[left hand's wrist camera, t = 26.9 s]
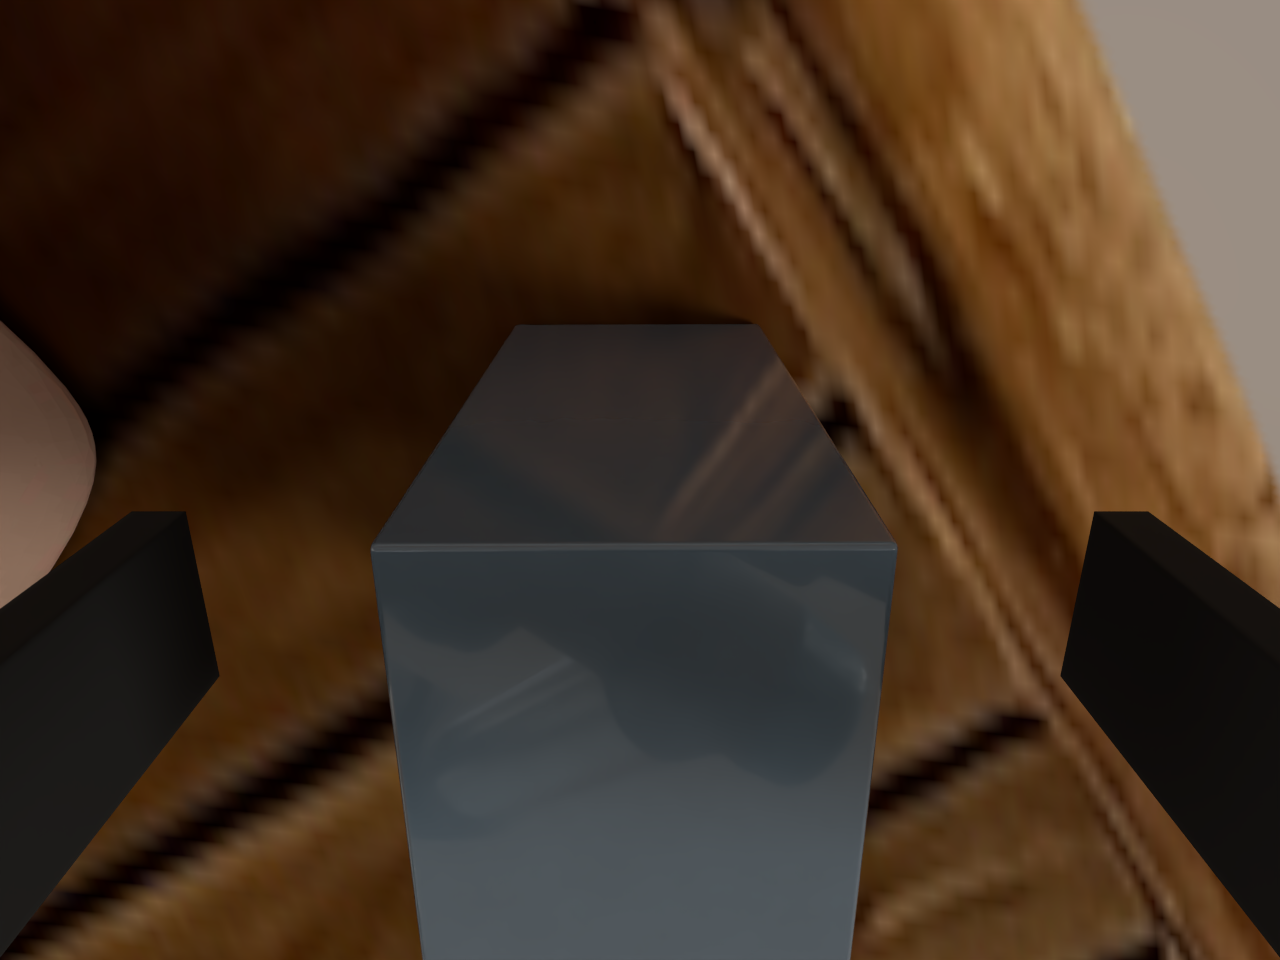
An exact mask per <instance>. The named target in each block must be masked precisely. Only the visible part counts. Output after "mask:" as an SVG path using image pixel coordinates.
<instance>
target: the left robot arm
mask: <svg viewBox="0 0 1280 960" xmlns="http://www.w3.org/2000/svg"><path fill="white" fill-rule="evenodd" d="M218 677H219V671H218V666H217V661H216V657H215V652H214V647H213V642H212V637H211V632H210V627H209V623H208V618H207V613H206V608H205V603H204V598H203V593H202V589H201V584H200V579H199V574H198V569H197V564H196V560H195V555H194V550H193V545H192V540H191V535H190V530H189V526H188V521H187V516H186V512H131V513H129V514H128V515H126V516H125V517H124V518H122V519H121V520H120V521H118V522H117V523H116V524H114V525H113V526H112V527H110V528H109V529H108V530H106V531H105V532H103V533H102V534H101V535H99V536H98V537H97V538H95V539H94V540H93V541H91V542H90V543H89V544H87V545H86V546H84V547H83V548H82V549H80V550H79V551H78V552H76V553H75V554H74V555H72V556H71V557H70V558H68V559H67V560H65V561H64V562H63V563H61V564H60V565H59V566H57V567H56V568H55V569H53V570H52V571H51V572H49V573H48V574H47V575H45V576H44V577H42V578H41V579H40V580H38V581H37V582H36V583H34V584H33V585H32V586H30V587H29V588H28V589H26V590H25V591H23V592H22V593H21V594H19V595H18V596H17V597H15V598H14V599H13V600H11V601H10V602H9V603H7V604H6V605H5V606H3V607H2V608H0V957H1V956H2V954H3V953H4V952H5V950H6V949H7V948H8V947H9V945H10V944H11V943H12V941H13V940H14V939H15V938H16V936H17V935H18V934H19V932H20V931H21V930H22V929H23V927H24V926H25V925H26V924H27V922H28V921H29V920H30V918H31V917H32V916H33V915H34V913H35V912H36V911H37V909H38V908H39V907H40V906H41V904H42V903H43V902H44V900H45V899H46V898H47V897H48V895H49V894H50V893H51V891H52V890H53V889H54V888H55V886H56V885H57V884H58V882H59V881H60V880H61V879H62V877H63V876H64V875H65V873H66V872H67V871H68V870H69V868H70V867H71V866H72V865H73V863H74V862H75V861H76V859H77V858H78V857H79V856H80V854H81V853H82V852H83V850H84V849H85V848H86V847H87V845H88V844H89V843H90V841H91V840H92V839H93V838H94V836H95V835H96V834H97V832H98V831H99V830H100V829H101V827H102V826H103V825H104V823H105V822H106V821H107V820H108V818H109V817H110V816H111V814H112V813H113V812H114V811H115V809H116V808H117V807H118V805H119V804H120V803H121V802H122V800H123V799H124V798H125V797H126V795H127V794H128V793H129V791H130V790H131V789H132V788H133V786H134V785H135V784H136V782H137V781H138V780H139V779H140V777H141V776H142V775H143V773H144V772H145V771H146V770H147V768H148V767H149V766H150V764H151V763H152V762H153V761H154V759H155V758H156V757H157V755H158V754H159V753H160V752H161V750H162V749H163V748H164V746H165V745H166V744H167V743H168V741H169V740H170V739H171V738H172V736H173V735H174V734H175V732H176V731H177V730H178V729H179V727H180V726H181V725H182V723H183V722H184V721H185V720H186V718H187V717H188V716H189V714H190V713H191V712H192V711H193V709H194V708H195V707H196V705H197V704H198V703H199V702H200V700H201V699H202V698H203V696H204V695H205V694H206V693H207V691H208V690H209V689H210V687H211V686H212V685H213V684H214V682H215V681H216V680H217V679H218ZM1061 677H1062V679H1063V680H1064V681H1065V682H1066V684H1067V685H1068V686H1069V688H1070V689H1071V690H1072V691H1073V693H1074V694H1075V695H1076V696H1077V698H1078V699H1079V700H1080V702H1081V703H1082V704H1083V705H1084V707H1085V708H1086V709H1087V711H1088V712H1089V713H1090V714H1091V716H1092V717H1093V718H1094V720H1095V721H1096V722H1097V723H1098V725H1099V726H1100V727H1101V729H1102V730H1103V731H1104V732H1105V734H1106V735H1107V736H1108V738H1109V739H1110V740H1111V741H1112V743H1113V744H1114V745H1115V747H1116V748H1117V749H1118V750H1119V752H1120V753H1121V754H1122V755H1123V757H1124V758H1125V759H1126V761H1127V762H1128V763H1129V764H1130V766H1131V767H1132V768H1133V770H1134V771H1135V772H1136V773H1137V775H1138V776H1139V777H1140V779H1141V780H1142V781H1143V782H1144V784H1145V785H1146V786H1147V788H1148V789H1149V790H1150V791H1151V793H1152V794H1153V795H1154V797H1155V798H1156V799H1157V800H1158V802H1159V803H1160V804H1161V806H1162V807H1163V808H1164V809H1165V811H1166V812H1167V813H1168V815H1169V816H1170V817H1171V818H1172V820H1173V821H1174V822H1175V823H1176V825H1177V826H1178V827H1179V829H1180V830H1181V831H1182V832H1183V834H1184V835H1185V836H1186V838H1187V839H1188V840H1189V841H1190V843H1191V844H1192V845H1193V847H1194V848H1195V849H1196V850H1197V852H1198V853H1199V854H1200V856H1201V857H1202V858H1203V859H1204V861H1205V862H1206V863H1207V865H1208V866H1209V867H1210V868H1211V870H1212V871H1213V872H1214V874H1215V875H1216V876H1217V877H1218V879H1219V880H1220V881H1221V882H1222V884H1223V885H1224V886H1225V888H1226V889H1227V890H1228V891H1229V893H1230V894H1231V895H1232V897H1233V898H1234V899H1235V900H1236V902H1237V903H1238V904H1239V906H1240V907H1241V908H1242V909H1243V911H1244V912H1245V913H1246V915H1247V916H1248V917H1249V918H1250V920H1251V921H1252V922H1253V924H1254V925H1255V926H1256V927H1257V929H1258V930H1259V931H1260V933H1261V934H1262V935H1263V936H1264V938H1265V939H1266V940H1267V941H1268V943H1269V944H1270V945H1271V947H1272V948H1273V949H1274V950H1275V952H1276V953H1277V954H1278V956H1279V957H1280V608H1278V607H1277V606H1275V605H1274V604H1273V603H1271V602H1270V601H1269V600H1267V599H1266V598H1265V597H1263V596H1262V595H1261V594H1259V593H1258V592H1256V591H1255V590H1254V589H1252V588H1251V587H1250V586H1248V585H1247V584H1246V583H1244V582H1243V581H1242V580H1240V579H1239V578H1238V577H1236V576H1235V575H1233V574H1232V573H1231V572H1229V571H1228V570H1227V569H1225V568H1224V567H1223V566H1221V565H1220V564H1219V563H1217V562H1216V561H1214V560H1213V559H1212V558H1210V557H1209V556H1208V555H1206V554H1205V553H1204V552H1202V551H1201V550H1200V549H1198V548H1197V547H1196V546H1194V545H1193V544H1191V543H1190V542H1189V541H1187V540H1186V539H1185V538H1183V537H1182V536H1181V535H1179V534H1178V533H1177V532H1175V531H1174V530H1172V529H1171V528H1170V527H1168V526H1167V525H1166V524H1164V523H1163V522H1162V521H1160V520H1159V519H1158V518H1156V517H1155V516H1154V515H1152V514H1151V513H1149V512H1094V516H1093V521H1092V525H1091V530H1090V535H1089V540H1088V545H1087V550H1086V555H1085V559H1084V564H1083V569H1082V574H1081V579H1080V584H1079V589H1078V593H1077V598H1076V603H1075V608H1074V613H1073V618H1072V622H1071V627H1070V632H1069V637H1068V642H1067V647H1066V652H1065V656H1064V661H1063V666H1062V671H1061Z"/></svg>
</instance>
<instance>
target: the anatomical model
mask: <svg viewBox="0 0 1280 960" xmlns="http://www.w3.org/2000/svg"><path fill="white" fill-rule="evenodd" d="M95 468H96V451H95V443H94V439H93V434H92V431H91V429H90V426H89V424H88V421H87V419H86V417H85V415H84V414H83V412H82V410H81V408H80V407H79V405H78V404H77V402H76V401H75V399H74V398H73V397H72V395H71V394H70V392H69V391H68V390H67V388H66V387H65V386H64V385H63V384H62V382H61V381H60V380H59V379H58V378H57V377H56V376H55V375H54V374H53V373H52V371H51V370H50V369H49V368H48V367H47V366H46V365H45V364H44V363H43V361H42V360H41V359H40V358H39V357H38V356H37V355H36V354H35V353H34V352H33V351H32V350H31V349H30V348H29V347H28V346H27V345H26V344H25V343H24V342H23V341H22V340H21V339H20V338H18V337H17V336H16V335H15V334H14V333H13V332H12V331H11V330H10V329H9V328H8V327H7V326H6V325H5V324H3V323H2V322H1V321H0V608H2V607H3V606H5V605H6V604H7V603H9V602H10V601H11V600H13V599H14V598H15V597H17V596H18V595H19V594H21V593H22V592H23V591H25V590H26V589H28V588H29V587H30V586H32V585H33V584H34V583H36V582H37V581H38V580H40V579H41V578H42V577H44V576H45V575H47V574H48V573H49V572H50V570H51V569H52V568H53V566H54V564H55V563H56V561H57V559H58V558H59V556H60V554H61V553H62V551H63V549H64V548H65V546H66V544H67V543H68V541H69V539H70V538H71V536H72V534H73V533H74V530H75V528H76V526H77V524H78V522H79V519H80V517H81V515H82V513H83V511H84V508H85V506H86V504H87V501H88V498H89V495H90V492H91V489H92V486H93V482H94V476H95Z"/></svg>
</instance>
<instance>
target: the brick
mask: <svg viewBox="0 0 1280 960" xmlns="http://www.w3.org/2000/svg"><path fill="white" fill-rule="evenodd" d="M370 552H371V560H372V568H373V576H374V584H375V592H376V599H377V607H378V615H379V623H380V631H381V639H382V646H383V654H384V662H385V670H386V678H387V686H388V693H389V701H390V709H391V717H392V725H393V733H394V740H395V748H396V756H397V764H398V772H399V780H400V787H401V795H402V803H403V811H404V819H405V826H406V834H407V842H408V850H409V858H410V866H411V873H412V881H413V889H414V897H415V905H416V913H417V920H418V928H419V936H420V944H421V952H422V960H850V959H851V950H852V942H853V933H854V925H855V916H856V907H857V899H858V890H859V881H860V873H861V864H862V855H863V847H864V838H865V829H866V821H867V812H868V804H869V795H870V786H871V778H872V769H873V760H874V752H875V743H876V734H877V726H878V717H879V708H880V700H881V691H882V683H883V674H884V665H885V657H886V648H887V639H888V631H889V622H890V613H891V605H892V596H893V587H894V579H895V570H896V562H897V553H898V546H897V543H896V541H895V540H894V538H893V537H892V535H891V533H890V532H889V530H888V529H887V527H886V525H885V524H884V522H883V521H882V519H881V518H880V516H879V514H878V513H877V511H876V510H875V508H874V507H873V505H872V503H871V502H870V500H869V499H868V497H867V495H866V494H865V492H864V491H863V489H862V488H861V486H860V484H859V483H858V481H857V480H856V478H855V476H854V475H853V473H852V472H851V470H850V469H849V467H848V465H847V464H846V462H845V461H844V459H843V458H842V456H841V454H840V453H839V451H838V450H837V448H836V446H835V445H834V443H833V442H832V440H831V439H830V437H829V435H828V434H827V432H826V431H825V429H824V427H823V426H822V424H821V423H820V421H819V420H818V418H817V416H816V415H815V413H814V412H813V410H812V409H811V407H810V405H809V404H808V402H807V401H806V399H805V397H804V396H803V394H802V393H801V391H800V390H799V388H798V386H797V385H796V383H795V382H794V380H793V379H792V377H791V375H790V374H789V372H788V371H787V369H786V367H785V366H784V364H783V363H782V361H781V360H780V358H779V356H778V355H777V353H776V352H775V350H774V348H773V347H772V345H771V344H770V342H769V341H768V339H767V337H766V336H765V334H764V333H763V331H762V330H761V328H760V326H759V325H757V324H656V325H516V326H515V327H514V329H513V330H512V332H511V333H510V335H509V336H508V338H507V339H506V341H505V342H504V344H503V345H502V347H501V348H500V350H499V351H498V353H497V354H496V356H495V358H494V359H493V361H492V362H491V364H490V365H489V367H488V368H487V370H486V371H485V373H484V374H483V376H482V377H481V379H480V380H479V382H478V383H477V385H476V386H475V388H474V389H473V391H472V392H471V394H470V396H469V397H468V399H467V400H466V402H465V403H464V405H463V406H462V408H461V409H460V411H459V412H458V414H457V415H456V417H455V418H454V420H453V421H452V423H451V424H450V426H449V427H448V429H447V431H446V432H445V434H444V435H443V437H442V438H441V440H440V441H439V443H438V444H437V446H436V447H435V449H434V450H433V452H432V453H431V455H430V456H429V458H428V459H427V461H426V462H425V464H424V465H423V467H422V469H421V470H420V472H419V473H418V475H417V476H416V478H415V479H414V481H413V482H412V484H411V485H410V487H409V488H408V490H407V491H406V493H405V494H404V496H403V497H402V499H401V500H400V502H399V503H398V505H397V507H396V508H395V510H394V511H393V513H392V514H391V516H390V517H389V519H388V520H387V522H386V523H385V525H384V526H383V528H382V529H381V531H380V532H379V534H378V535H377V537H376V538H375V540H374V541H373V543H372V545H371V548H370Z"/></svg>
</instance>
